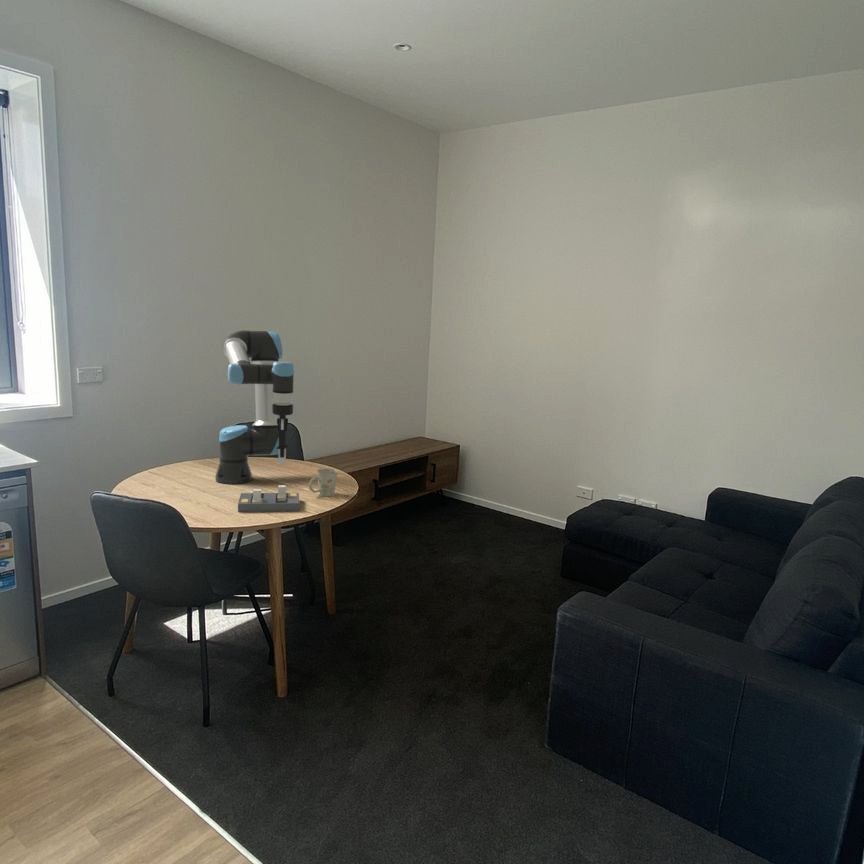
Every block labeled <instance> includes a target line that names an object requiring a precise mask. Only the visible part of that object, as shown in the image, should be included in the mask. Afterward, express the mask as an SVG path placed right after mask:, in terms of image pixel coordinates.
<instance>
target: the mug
mask: <svg viewBox="0 0 864 864" xmlns="http://www.w3.org/2000/svg"><path fill="white" fill-rule="evenodd" d="M316 475H317V476H313V477H312V478H311V479H310V481H309V482H308V487H309V490H310V491H311V492H312V493H319V496H320V497H328V498H329V497H334V495H335V492H336V486H337V479H338V470H337V469H334V468H320V469H318V470H317V471H316ZM316 480H317V484H318V489H313V483H314V481H316Z"/></svg>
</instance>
